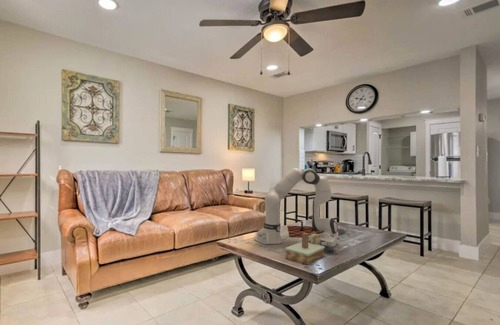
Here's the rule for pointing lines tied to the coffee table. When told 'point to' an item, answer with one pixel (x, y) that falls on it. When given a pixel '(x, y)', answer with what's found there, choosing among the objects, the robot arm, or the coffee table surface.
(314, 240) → the tan wooden block
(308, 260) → the open wooden box
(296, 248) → the lid
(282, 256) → the coffee table surface
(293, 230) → the chessboard
